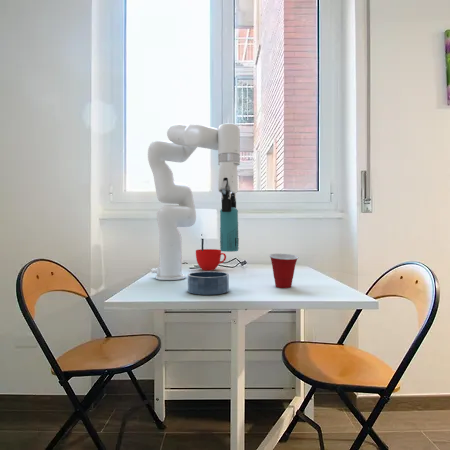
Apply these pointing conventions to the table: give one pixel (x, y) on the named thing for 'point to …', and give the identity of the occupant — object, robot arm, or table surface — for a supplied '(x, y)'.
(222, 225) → the beverage bottle
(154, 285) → the table surface
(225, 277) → the blue-grey round bowl
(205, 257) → the ceramic cup
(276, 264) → the plastic cup
